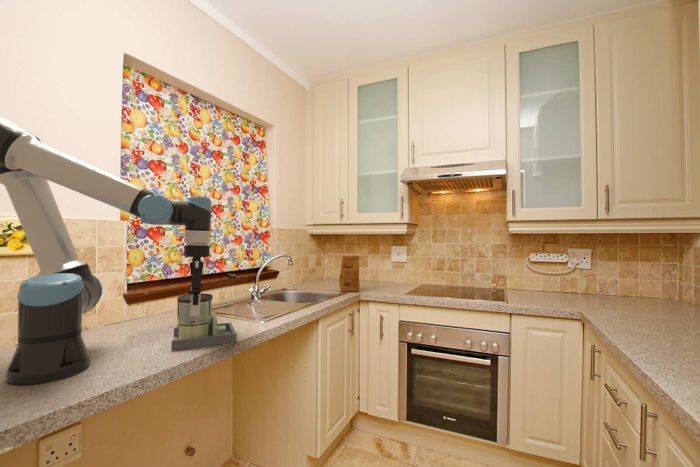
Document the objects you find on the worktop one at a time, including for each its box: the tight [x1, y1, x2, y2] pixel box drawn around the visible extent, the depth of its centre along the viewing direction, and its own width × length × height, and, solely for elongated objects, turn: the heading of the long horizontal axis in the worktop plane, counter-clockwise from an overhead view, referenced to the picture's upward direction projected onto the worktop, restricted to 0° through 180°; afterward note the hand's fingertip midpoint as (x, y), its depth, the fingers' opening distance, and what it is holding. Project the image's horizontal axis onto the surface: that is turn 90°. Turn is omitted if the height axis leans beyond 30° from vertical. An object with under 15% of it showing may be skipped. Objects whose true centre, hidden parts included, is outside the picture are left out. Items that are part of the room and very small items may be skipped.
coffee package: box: [339, 255, 360, 292], centre depth 206 cm, size 10×12×22 cm
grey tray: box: [170, 322, 237, 352], centre depth 107 cm, size 18×15×3 cm
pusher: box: [212, 311, 226, 336], centre depth 109 cm, size 4×12×7 cm, turn 26°
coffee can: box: [176, 292, 213, 339], centre depth 106 cm, size 10×10×14 cm
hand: (194, 310), depth 106 cm, fingers open, 13 cm apart
